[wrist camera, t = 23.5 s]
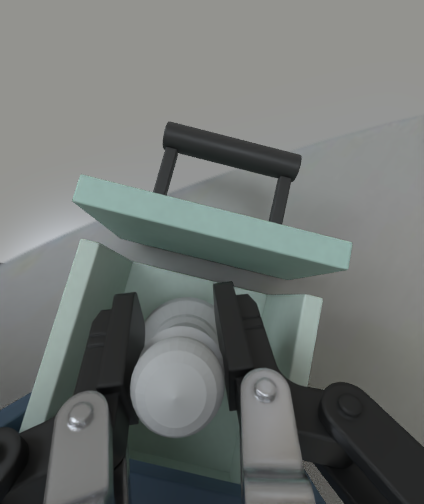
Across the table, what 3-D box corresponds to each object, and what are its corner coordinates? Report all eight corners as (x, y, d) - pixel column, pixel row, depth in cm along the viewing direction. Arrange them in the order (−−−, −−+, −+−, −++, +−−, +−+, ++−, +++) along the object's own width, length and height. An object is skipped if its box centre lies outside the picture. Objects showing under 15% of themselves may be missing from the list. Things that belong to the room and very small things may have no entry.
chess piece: (135, 395, 14) (62, 512, 7) (140, 296, 15) (80, 294, 7) (233, 395, 15) (276, 509, 7) (234, 297, 15) (273, 297, 7)
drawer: (144, 155, 20) (113, 71, 13) (305, 196, 21) (371, 138, 13) (60, 437, 18) (-44, 547, 10) (248, 481, 18) (288, 622, 10)
